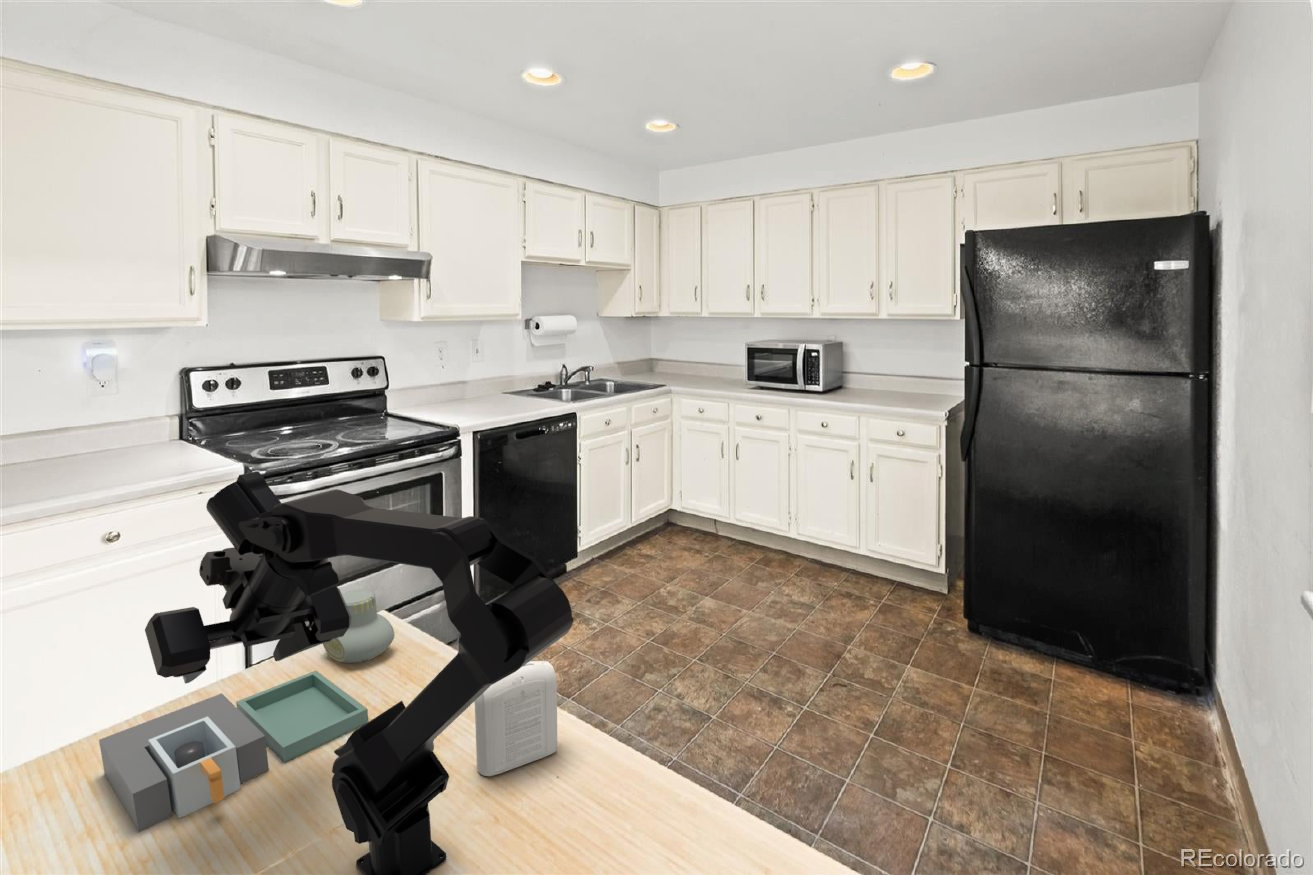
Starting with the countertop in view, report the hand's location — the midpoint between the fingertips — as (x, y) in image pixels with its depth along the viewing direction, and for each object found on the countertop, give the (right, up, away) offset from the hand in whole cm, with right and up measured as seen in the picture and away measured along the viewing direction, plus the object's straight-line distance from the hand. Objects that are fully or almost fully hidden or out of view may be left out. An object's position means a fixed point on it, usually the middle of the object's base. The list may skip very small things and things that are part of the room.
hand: (232, 667), depth 76 cm
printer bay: (-8, -14, +4) cm, 17 cm away
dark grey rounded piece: (-7, -14, +3) cm, 16 cm away
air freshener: (0, -9, +33) cm, 34 cm away
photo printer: (+31, -14, +8) cm, 35 cm away
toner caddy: (-4, -15, +1) cm, 16 cm away
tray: (0, -12, +15) cm, 19 cm away
